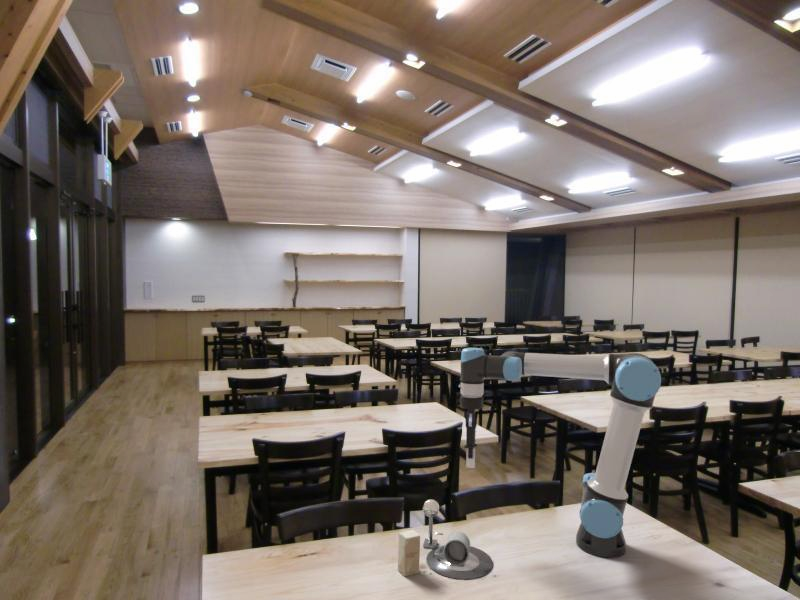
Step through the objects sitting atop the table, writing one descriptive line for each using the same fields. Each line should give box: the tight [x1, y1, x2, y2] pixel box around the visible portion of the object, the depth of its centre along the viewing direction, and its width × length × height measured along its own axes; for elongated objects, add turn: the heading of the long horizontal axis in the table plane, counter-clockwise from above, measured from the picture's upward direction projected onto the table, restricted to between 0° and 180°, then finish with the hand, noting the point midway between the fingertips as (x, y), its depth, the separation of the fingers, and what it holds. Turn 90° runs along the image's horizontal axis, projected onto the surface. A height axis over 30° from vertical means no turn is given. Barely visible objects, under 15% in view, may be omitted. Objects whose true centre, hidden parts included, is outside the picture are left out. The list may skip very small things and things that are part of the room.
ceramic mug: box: [435, 531, 471, 566], centre depth 160 cm, size 11×8×8 cm
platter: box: [426, 544, 494, 580], centre depth 159 cm, size 20×20×1 cm
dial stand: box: [422, 499, 444, 550], centre depth 169 cm, size 6×4×14 cm, turn 79°
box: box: [397, 529, 421, 577], centre depth 153 cm, size 5×4×11 cm
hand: (470, 466), depth 172 cm, fingers closed
